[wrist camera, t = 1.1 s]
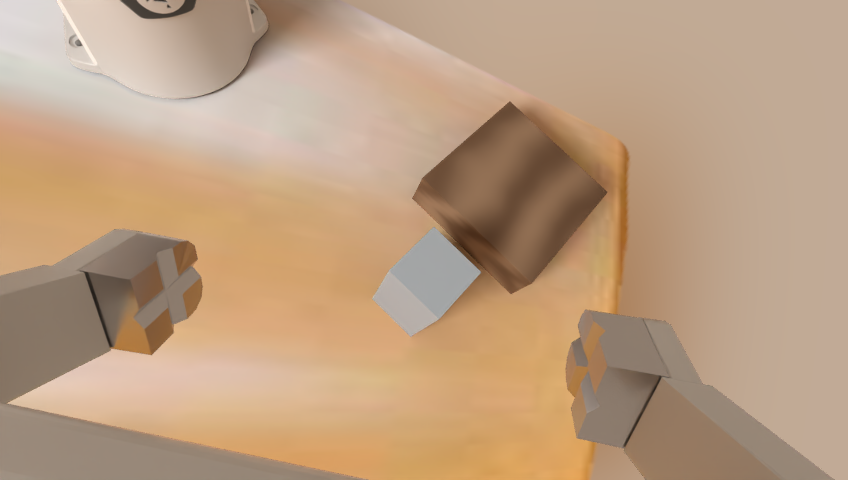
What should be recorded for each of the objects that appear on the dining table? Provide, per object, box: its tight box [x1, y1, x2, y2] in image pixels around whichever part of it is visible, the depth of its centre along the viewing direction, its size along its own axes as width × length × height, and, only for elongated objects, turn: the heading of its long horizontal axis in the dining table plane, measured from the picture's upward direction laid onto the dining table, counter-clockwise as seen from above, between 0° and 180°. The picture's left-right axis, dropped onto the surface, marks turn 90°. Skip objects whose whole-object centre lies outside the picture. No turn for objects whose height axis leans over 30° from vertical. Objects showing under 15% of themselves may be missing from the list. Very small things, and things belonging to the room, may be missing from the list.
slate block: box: [372, 227, 481, 337], centre depth 37 cm, size 5×5×10 cm
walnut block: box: [412, 102, 607, 294], centre depth 45 cm, size 14×14×5 cm
